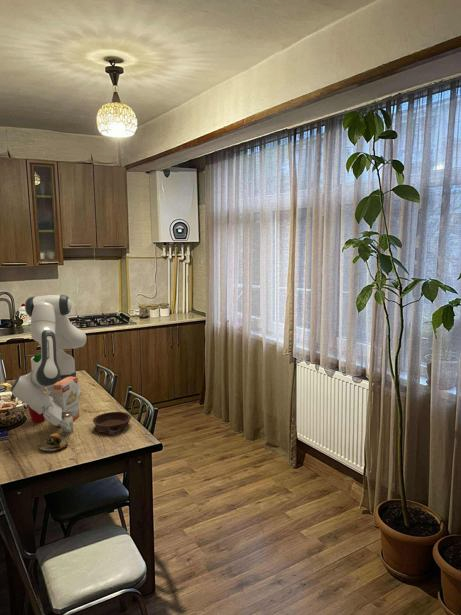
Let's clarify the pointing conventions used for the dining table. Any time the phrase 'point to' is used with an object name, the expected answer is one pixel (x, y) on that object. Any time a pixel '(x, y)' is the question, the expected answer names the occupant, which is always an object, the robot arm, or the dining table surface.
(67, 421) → the tea canister
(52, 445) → the burger
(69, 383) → the cracker box
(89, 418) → the dining table surface
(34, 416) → the plastic cup
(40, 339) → the robot arm
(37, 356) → the milk carton
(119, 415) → the dish
